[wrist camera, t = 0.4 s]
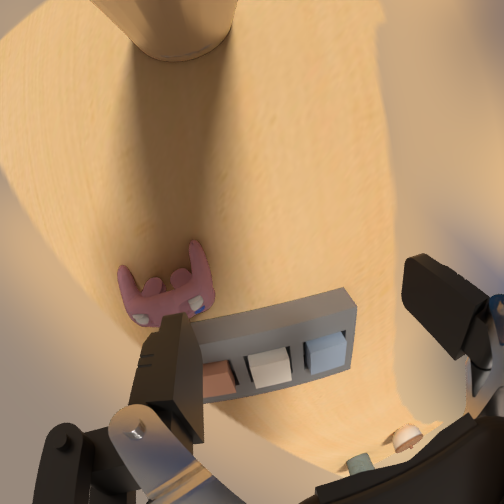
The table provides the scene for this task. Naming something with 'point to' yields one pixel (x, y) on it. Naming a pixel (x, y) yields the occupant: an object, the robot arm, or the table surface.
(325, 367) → the slate blue key
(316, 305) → the key console
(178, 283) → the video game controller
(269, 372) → the off-white key
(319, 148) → the table surface
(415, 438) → the lidded jar
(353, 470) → the grey embossed vase
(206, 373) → the terracotta key
